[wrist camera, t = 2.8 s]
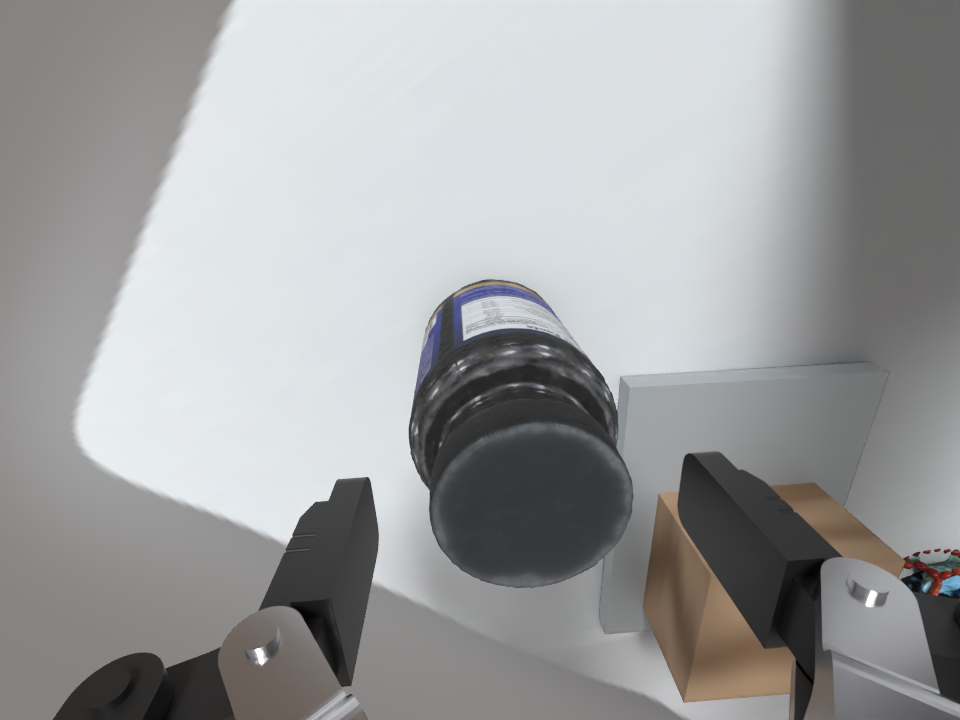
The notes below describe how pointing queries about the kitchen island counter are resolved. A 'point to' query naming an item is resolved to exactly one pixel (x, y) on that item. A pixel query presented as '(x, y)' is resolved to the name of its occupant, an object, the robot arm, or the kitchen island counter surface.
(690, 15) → the kitchen island counter surface
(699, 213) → the kitchen island counter surface
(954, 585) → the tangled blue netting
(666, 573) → the wooden block
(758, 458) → the build plate
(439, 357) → the pill bottle
